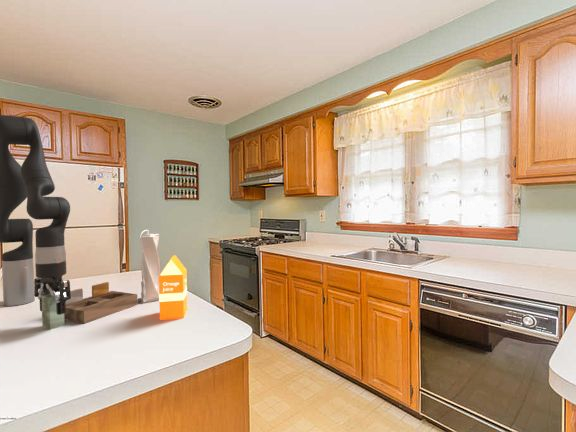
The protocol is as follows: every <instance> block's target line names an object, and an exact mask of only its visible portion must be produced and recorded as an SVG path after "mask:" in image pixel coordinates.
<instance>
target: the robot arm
mask: <svg viewBox="0 0 576 432" xmlns="http://www.w3.org/2000/svg"><path fill="white" fill-rule="evenodd" d="M10 145H12V146H13V145H17V146H20V145H21V146H29V152H28V154H27V156H26V157H25V159H24V160H23V163H22V164H20V163H19V162H18V161H17V160H16V159H15V157H14V156H13V155H12V153H11V151H10V149H9V146H10ZM43 147H44V146H43V142H42V138H41V134H40V131H39V127H38V125H37V123H36V122H35V120H34V119H32V118H30V117H25V116H17V115H8V114H7V115H6V114H0V243H1V244H2V243H3V244H7V243H8V244H10V243H21V244H20V245H19V246H18V247H16V248H14V249H12V250H11V249H10V250H8V251H6V252H3V253H1V269H2V270H1V272H2V273H1V276H2V296H3V297H2V300H3V306H5V307H12V306H13V307H14V306H20V305H25V304H29V303H31V302H32V303H33V302H34V301H35V298H37V299H38V300H39V311H40V312H42V297H41V296H43V295H47V294H51V295H52V297H54V298H55V300H56V302H57V303H56V309H57V315H61V314H64V313H65V312H66V301H67V300H69V299H71V292H70V291H71V281H70V280H69V279H66V280H64V279H63V276H65V275H66V274H67V252H66V246H65V231H66V226H67V223H68V220H69V219H68V218H69V217H70V213H71V204H70V202H69V201H68V200H67V198H65V197H63V196H49V195H51V194H53V193H54V191H55V190H56V186H55V184H54V181H53V178H52V176H51V173H50V172H49V171H50V170H49V168H48V166H47V163H46V162H47V161H46V155H45V152H44V148H43ZM26 199H27V200H26ZM25 200H26V213H27V214H28V216H29V217H31V218H32V219H34V220H37V221H38V220H41V221H43V220H52V221H51V223H50V224H49V225H47V226H43V227H38V228H37V229H36V230H35V232H34V225H33V221H32V220H31V219H30V218H10V216H11V215H12V213H13V212H14V211H15V209H16V208H18V207H19V206H20V205H21V204H22V203H23V202H25ZM34 233H35V236H34ZM34 237H35V253H34V250H33V241H34V239H33V238H34ZM34 261H35V262H34ZM34 263H35V264H34ZM34 265H35V266H34ZM34 268H35V270H34ZM34 271H35V272H34ZM34 274H35V275H34ZM65 293H67V296H66V295H65ZM59 296H60V298H59Z"/></svg>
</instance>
